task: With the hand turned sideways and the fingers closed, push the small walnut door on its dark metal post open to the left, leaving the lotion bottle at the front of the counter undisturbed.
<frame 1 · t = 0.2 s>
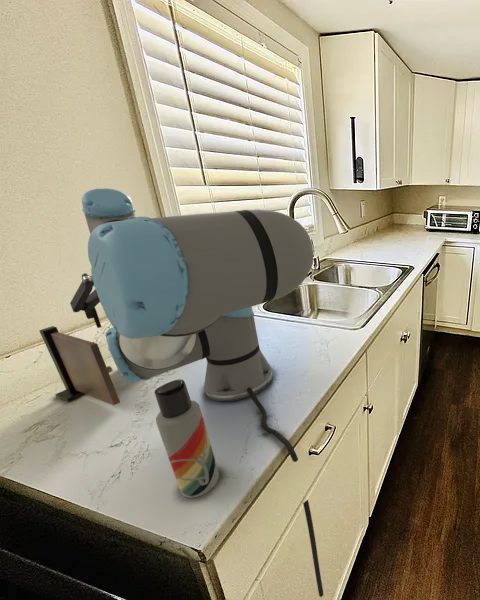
hand: (131, 315, 85), 15 cm above the worktop, tool tilted 35°, fingers open, 13 cm apart
lotion bottle: (201, 484, 55), on the worktop
door post: (78, 392, 79), on the worktop
door: (88, 366, 73), point 9 cm above the worktop, hinge at 0.0°
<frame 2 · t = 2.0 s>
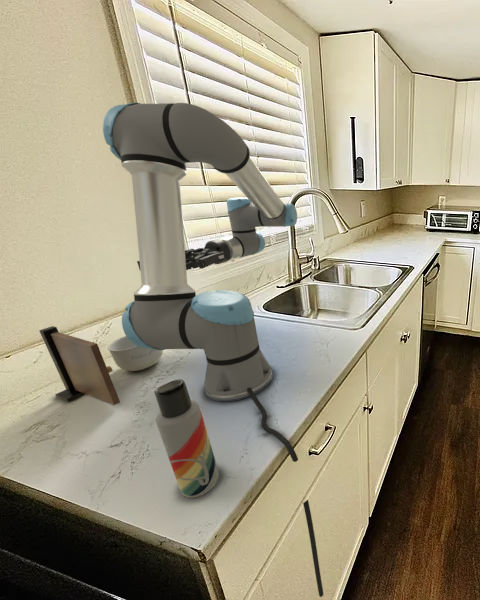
hand: (152, 268, 86), 26 cm above the worktop, tool horizontal, fingers open, 10 cm apart
nothing on the worktop moved.
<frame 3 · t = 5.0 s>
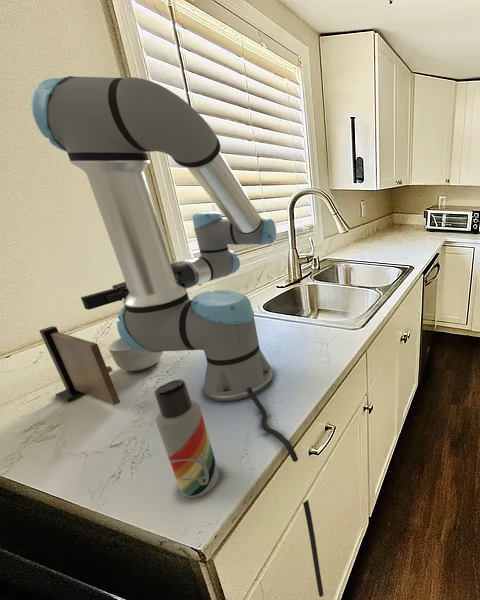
hand: (85, 303, 70), 23 cm above the worktop, tool horizontal, fingers closed
nothing on the worktop moved.
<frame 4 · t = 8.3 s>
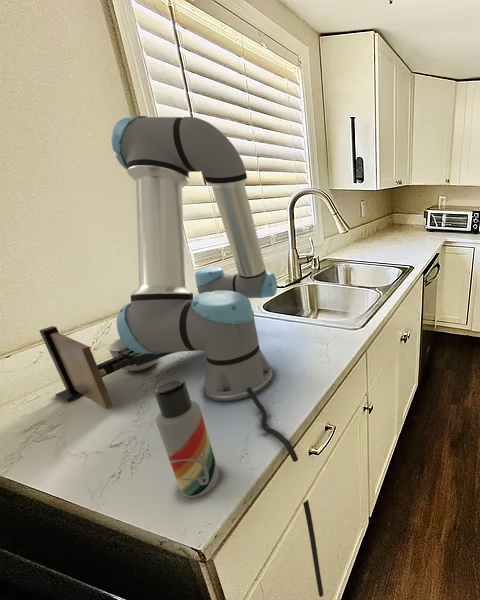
hand: (91, 374, 73), 7 cm above the worktop, tool horizontal, fingers closed
door: (84, 368, 73), point 9 cm above the worktop, hinge at 4.9°, touching gripper
everything else where it was.
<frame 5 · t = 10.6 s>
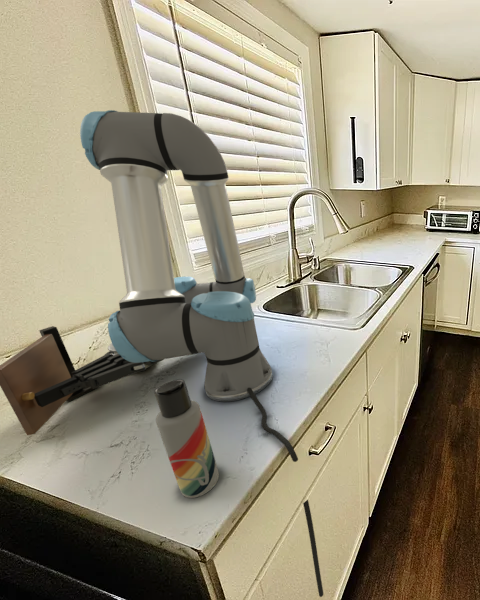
hand: (37, 400, 65), 7 cm above the worktop, tool horizontal, fingers closed
door: (43, 380, 68), point 9 cm above the worktop, hinge at 48.7°
everything else where it was.
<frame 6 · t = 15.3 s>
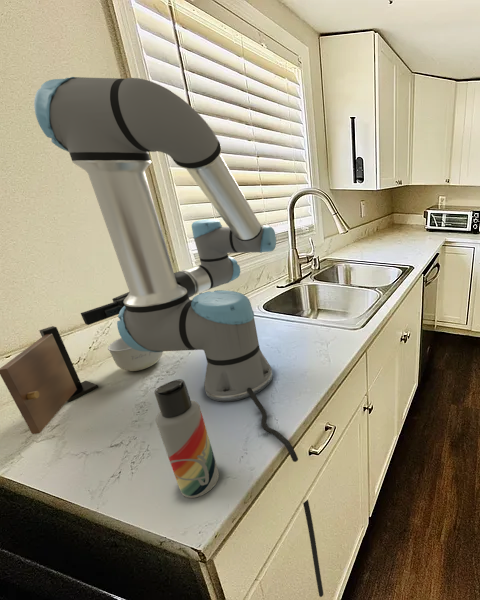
hand: (84, 319, 71), 20 cm above the worktop, tool horizontal, fingers closed
door: (46, 380, 68), point 9 cm above the worktop, hinge at 45.8°
everything else where it was.
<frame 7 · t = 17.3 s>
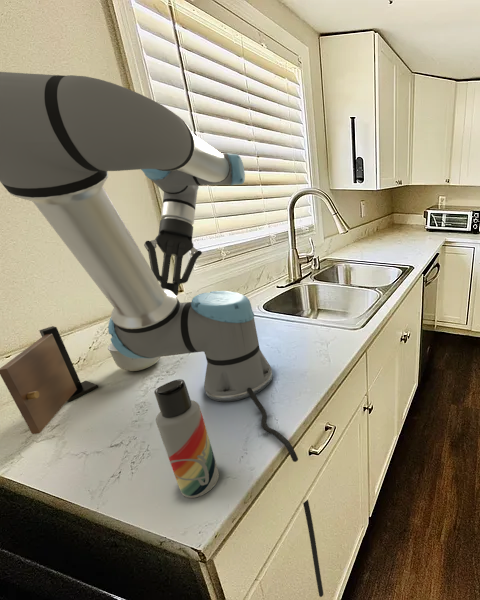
hand: (166, 308, 85), 17 cm above the worktop, tool tilted 30°, fingers closed
nothing on the worktop moved.
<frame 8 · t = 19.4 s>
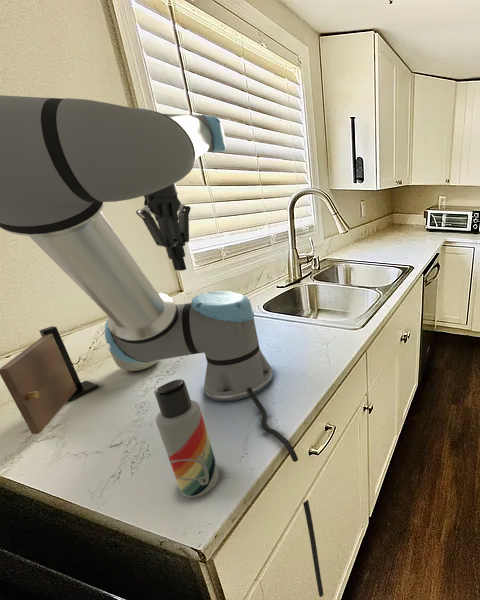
hand: (180, 269, 91), 24 cm above the worktop, tool pointing down, fingers closed
nothing on the worktop moved.
at the end: door at +46° (first picture: +0°); lotion bottle moved 0.2 cm from its start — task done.
